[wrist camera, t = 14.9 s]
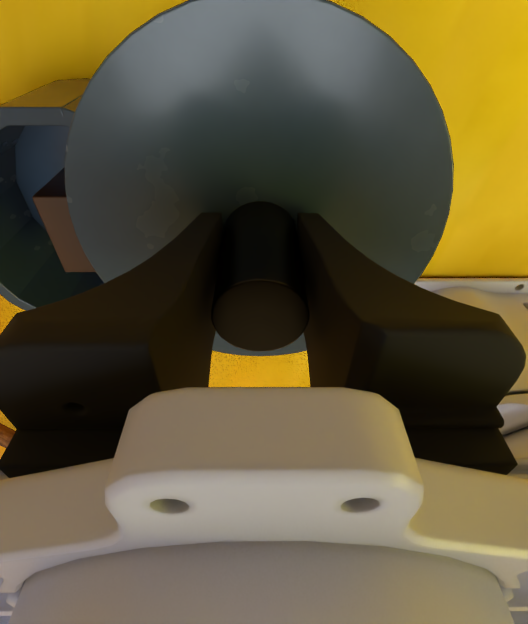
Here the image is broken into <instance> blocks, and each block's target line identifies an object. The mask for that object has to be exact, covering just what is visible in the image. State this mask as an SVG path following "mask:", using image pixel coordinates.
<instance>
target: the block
mask: <svg viewBox="0 0 528 624" xmlns="http://www.w3.org/2000/svg"><path fill="white" fill-rule="evenodd" d="M32 199H33V201H34V204H35V206H36V208H37V210H38V212H39V215H40V217H41V219H42V221H43V224H44V226H45V228H46V230H47V233H48V235H49V237H50V239H51V241H52V244H53V246H54V248H55V250H56V253H57V255H58V257H59V259H60V261H61V264H62V266H63V268H64V270H65V272H96V271H95V270H94V268H93V266H92V265H91V263H90V262H89V260H88V258H87V257H86V255H85V253H84V251H83V249H82V247H81V244H80V242H79V240H78V238H77V236H76V233H75V230H74V227H73V223H72V220H71V217H70V214H69V209H68V203H67V197H66V191H65V167H64V168H63V169H62V170H61V171H60V172H59V173H58V174H57V175H55V176H54V177H53V178H52V179H51V180H50V181H49V182H48V183H47V184H46V185H44V186H43V187H42V188H41V189H40V190H39V191H38V192H37V193H36V194H35V195H33V196H32Z"/></svg>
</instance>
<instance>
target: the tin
mask: <svg viewBox="0 0 528 624" xmlns="http://www.w3.org/2000/svg"><path fill="white" fill-rule="evenodd" d="M89 80H90V79H88V78H83V79H70V80H57V81H54V82H52V83H49V84H47V85H45V86H43V87H40V88H38V89H36V90H34V91H31V92H29V93H27V94H25V95H22V96H20V97H18V98H16V99H13V100H11V101H9V102H7V103H4V104H2V105H0V294H1V295H2V296H3V297H4V298H5V299H6V300H8V301H9V302H11V303H12V304H14V305H16V306H18V307H20V308H22V309H24V310H26V311H27V310H31V309H34V308H37V307H41V306H44V305H47V304H51V303H54V302H57V301H61V300H63V299H66V298H69V297H72V296H75V295H77V294H80V293H83V292H85V291H88V290H90V289H93V288H95V287H97V286H100V285H102V284H104V282H103V281H102V279H101V278H100V277H99V276H98V274H97V273H96V272H65V270H64V268H63V266H62V264H61V261H60V259H59V257H58V255H57V253H56V250H55V248H54V246H53V244H52V241H51V239H50V237H49V235H48V233H47V230H46V228H45V226H44V224H43V221H42V219H41V217H40V215H39V212H38V210H37V208H36V206H35V204H34V201H33V199H32V196H33V195H35V194H36V193H37V192H38V191H39V190H40V189H41V188H42V187H43V186H44V185H46V184H47V183H48V182H49V181H50V180H51V179H52V178H53V177H54V176H55V175H57V174H58V173H59V172H60V171H61V170H62V169H63V168H64V167H65V164H64V161H65V154H66V146H67V138H68V133H69V130H70V126H71V123H72V120H73V116H74V113H75V110H76V107H77V105H78V103H79V101H80V99H81V97H82V95H83V92H84V90H85V88H86V86H87V84H88V82H89Z"/></svg>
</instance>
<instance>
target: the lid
mask: <svg viewBox="0 0 528 624" xmlns="http://www.w3.org/2000/svg"><path fill="white" fill-rule="evenodd" d="M64 164H65V191H66V197H67V203H68V209H69V214H70V217H71V220H72V223H73V227H74V230H75V233H76V236H77V238H78V240H79V242H80V244H81V247H82V249H83V251H84V253H85V255H86V257H87V258H88V260H89V262H90V263H91V265H92V266H93V268H94V270H95V271H96V273H97V274H98V276H99V277H100V278H101V279H102V281H103V282H104V283H106V282H108V281H110V280H112V279H114V278H116V277H118V276H120V275H122V274H124V273H126V272H128V271H130V270H131V269H133V268H135V267H136V266H138V265H139V264H141V263H143V262H144V261H146V260H147V259H149V258H150V257H152V256H153V255H154V254H156V253H157V252H158V251H159V250H161V249H162V248H163V247H164V246H166V245H167V244H168V243H169V242H171V241H172V240H173V239H174V238H175V237H176V236H178V235H179V234H180V233H181V232H182V231H183V230H184V229H185V228H186V227H187V226H188V225H189V224H190V223H191V222H192V221H193V220H194V219H195V218H196V217H197V216H198V215H199V214H201V213H221V214H222V228H223V237H222V243H221V250H220V257H219V263H218V270H217V277H216V283H215V290H214V297H213V303H212V310H211V320H212V323H213V326H214V328H215V330H216V333H215V338H214V342H213V348H212V350H213V351H217V352H222V353H228V354H236V355H246V356H274V355H284V354H292V353H298V352H302V351H307V347H306V342H305V337H304V331H305V329H306V327H307V324H308V321H309V307H308V300H307V294H306V287H305V281H304V274H303V268H302V261H301V254H300V249H299V243H298V236H297V222H298V213H318V214H319V215H320V216H322V217H323V218H324V219H325V220H326V221H327V222H328V223H329V224H330V225H331V226H332V227H333V228H334V229H335V230H336V231H337V232H338V233H339V234H340V235H341V236H342V237H343V238H344V239H345V240H347V241H348V242H349V243H350V244H351V245H352V246H354V247H355V248H356V249H357V250H359V251H360V252H361V253H363V254H364V255H365V256H366V257H368V258H369V259H371V260H372V261H374V262H375V263H377V264H378V265H380V266H381V267H383V268H385V269H386V270H388V271H390V272H391V273H393V274H395V275H397V276H399V277H400V278H403V279H405V280H407V281H409V282H411V283H413V284H414V283H415V282H416V281H417V279H418V278H419V277H420V276H421V274H422V273H423V271H424V269H425V268H426V266H427V265H428V263H429V261H430V260H431V258H432V257H433V254H434V252H435V250H436V248H437V246H438V244H439V241H440V239H441V237H442V234H443V231H444V228H445V225H446V222H447V218H448V215H449V210H450V204H451V199H452V193H453V169H454V163H453V155H452V147H451V139H450V135H449V131H448V128H447V124H446V121H445V117H444V114H443V111H442V109H441V107H440V104H439V102H438V100H437V98H436V96H435V94H434V92H433V89H432V87H431V85H430V84H429V82H428V81H427V79H426V78H425V76H424V75H423V73H422V72H421V71H420V69H419V68H418V66H417V65H416V63H415V62H414V60H413V59H412V58H411V57H410V56H409V55H408V54H407V53H406V52H405V51H404V50H403V49H402V48H401V47H400V46H399V45H398V44H397V43H396V42H395V41H394V40H393V39H392V38H391V36H389V35H388V34H386V33H385V32H384V31H382V30H381V29H380V28H378V27H377V26H375V25H374V24H373V23H371V22H370V21H368V20H367V19H366V18H364V17H363V16H361V15H359V14H357V13H355V12H353V11H351V10H349V9H347V8H344V7H342V6H340V5H338V4H336V3H334V2H332V1H329V0H188V1H185V2H183V3H181V4H179V5H177V6H174V7H172V8H170V9H168V10H166V11H163V12H161V13H159V14H157V15H156V16H154V17H153V18H151V19H150V20H149V21H147V22H146V23H144V24H143V25H141V26H140V27H138V28H137V29H135V30H134V31H133V32H131V33H130V34H129V35H128V36H127V37H126V38H125V39H124V40H123V41H122V42H121V43H120V44H119V45H118V46H117V47H116V48H115V49H114V50H113V51H112V52H111V53H110V54H109V55H108V56H107V57H106V58H105V60H104V61H103V62H102V64H101V65H100V67H99V68H98V69H97V71H96V72H95V73H94V75H93V76H92V78H91V79H90V80H89V82H88V84H87V86H86V88H85V90H84V92H83V95H82V97H81V99H80V101H79V103H78V105H77V107H76V110H75V113H74V116H73V120H72V123H71V126H70V130H69V133H68V138H67V146H66V154H65V161H64Z"/></svg>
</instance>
